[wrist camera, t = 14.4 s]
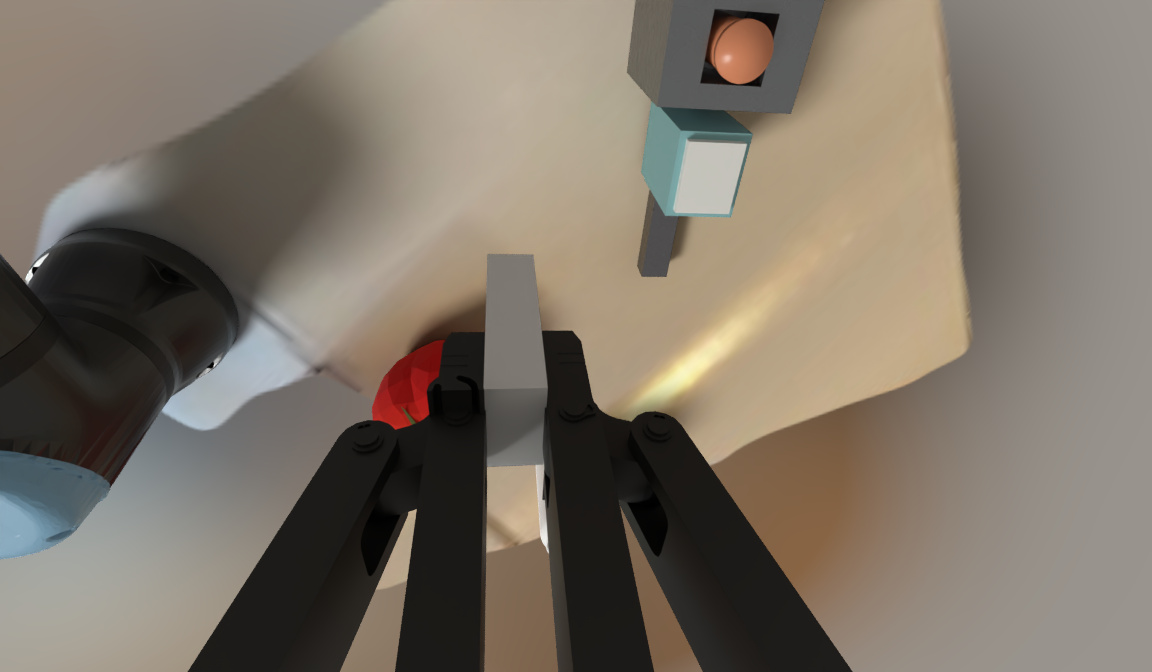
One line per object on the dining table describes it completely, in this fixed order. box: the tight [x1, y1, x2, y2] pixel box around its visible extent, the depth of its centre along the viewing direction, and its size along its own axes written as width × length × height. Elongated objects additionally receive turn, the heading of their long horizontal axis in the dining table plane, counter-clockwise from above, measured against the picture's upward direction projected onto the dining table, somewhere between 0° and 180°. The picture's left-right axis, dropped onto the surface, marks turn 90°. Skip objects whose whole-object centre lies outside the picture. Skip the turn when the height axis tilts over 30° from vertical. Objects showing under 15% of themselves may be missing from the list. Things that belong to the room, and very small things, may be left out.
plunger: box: [705, 11, 774, 84], centre depth 34 cm, size 3×3×6 cm
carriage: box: [641, 102, 753, 217], centre depth 41 cm, size 5×6×9 cm
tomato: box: [372, 340, 445, 430], centre depth 54 cm, size 11×13×10 cm
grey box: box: [627, 0, 825, 114], centre depth 37 cm, size 9×7×10 cm
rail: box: [637, 190, 679, 277], centre depth 47 cm, size 2×17×2 cm, turn 176°
